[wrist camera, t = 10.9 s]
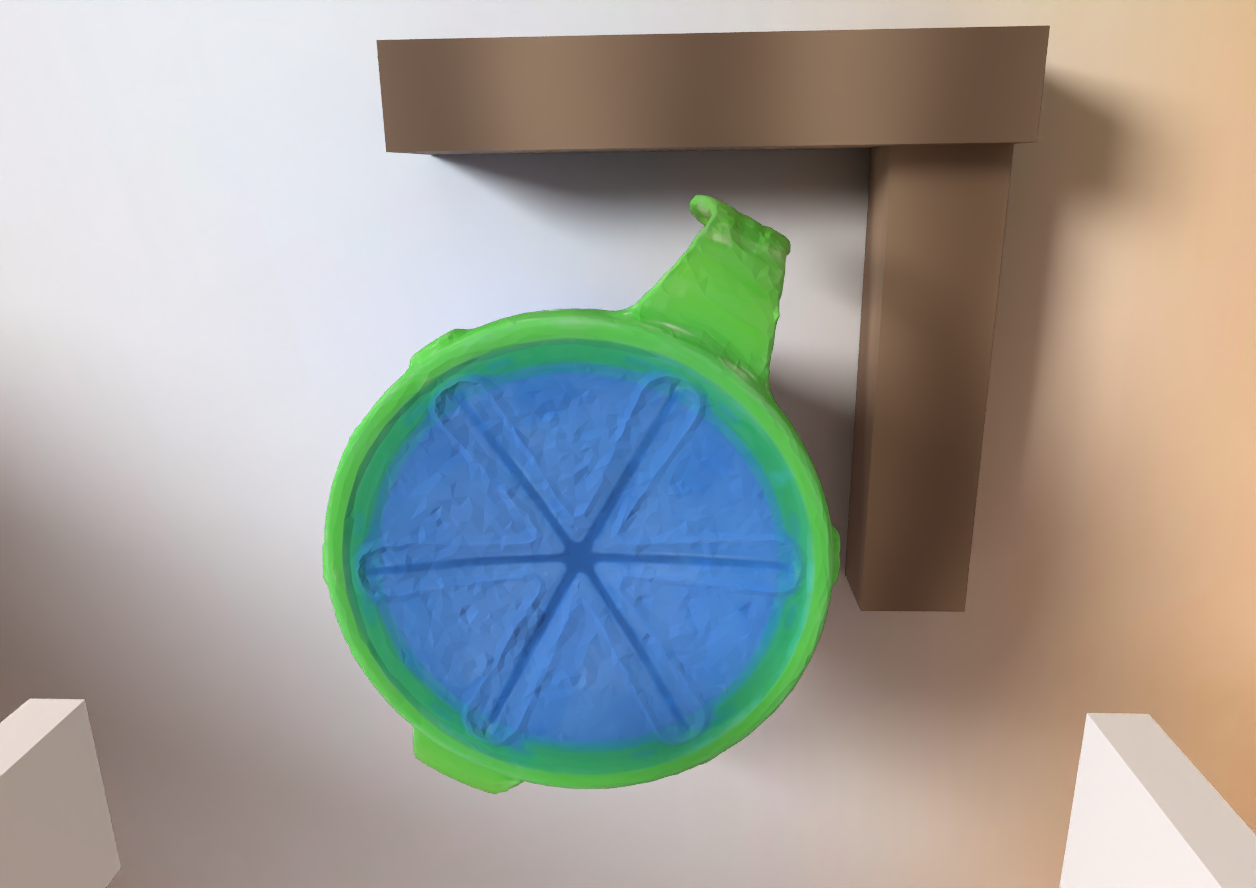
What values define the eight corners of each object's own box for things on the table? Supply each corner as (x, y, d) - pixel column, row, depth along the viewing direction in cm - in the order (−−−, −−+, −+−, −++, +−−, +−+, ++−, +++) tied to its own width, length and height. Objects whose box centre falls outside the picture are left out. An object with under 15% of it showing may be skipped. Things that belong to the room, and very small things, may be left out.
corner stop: (459, 571, 30) (427, 630, 26) (421, 59, 25) (376, 40, 21) (939, 574, 29) (981, 636, 25) (990, 48, 24) (1050, 25, 20)
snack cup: (607, 111, 25) (567, 75, 15) (904, 325, 27) (1038, 415, 17) (342, 534, 29) (178, 714, 20) (610, 699, 31) (580, 945, 21)
